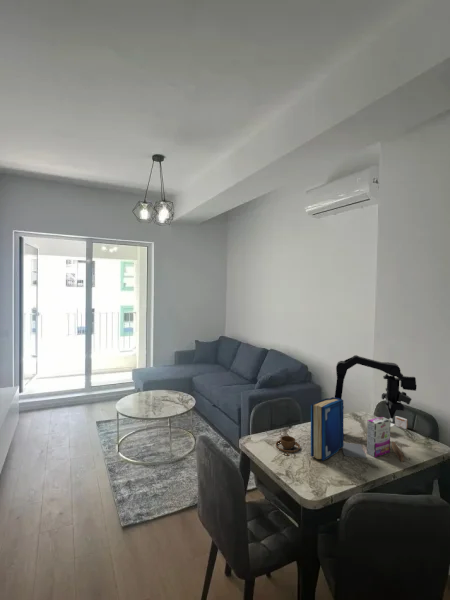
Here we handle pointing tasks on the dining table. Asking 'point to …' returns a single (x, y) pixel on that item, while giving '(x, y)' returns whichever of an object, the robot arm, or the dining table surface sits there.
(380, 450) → the candy bar box
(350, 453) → the mat
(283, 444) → the brown cup and saucer
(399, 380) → the robot arm
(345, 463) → the dining table surface
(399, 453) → the back rail
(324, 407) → the book
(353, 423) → the dining table surface
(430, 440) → the dining table surface
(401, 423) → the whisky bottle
